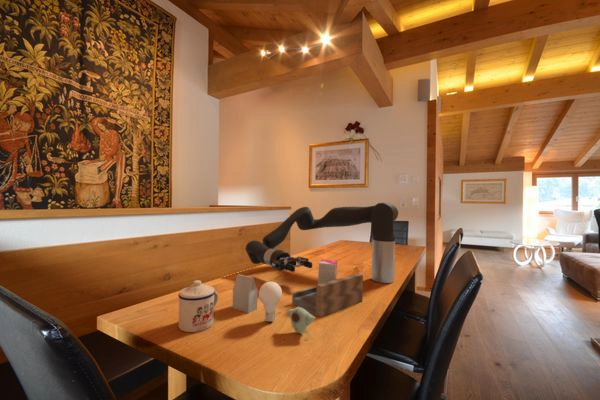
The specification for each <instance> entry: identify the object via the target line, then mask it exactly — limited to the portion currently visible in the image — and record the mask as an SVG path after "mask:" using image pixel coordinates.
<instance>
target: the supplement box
mask: <svg viewBox="0 0 600 400" xmlns="http://www.w3.org/2000/svg"><path fill="white" fill-rule="evenodd" d="M337 275H338V260H333V259H332V260H331V259H330V260H329V259H320V261H319V263H318V275H317V277H318V278H317V285H318V284H321V283H325V282H329V281H332V280H336V279H337V277H338V276H337Z"/></svg>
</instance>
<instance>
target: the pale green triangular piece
mask: <svg viewBox="0 0 600 400" xmlns="http://www.w3.org/2000/svg"><path fill="white" fill-rule="evenodd" d="M287 316H288V317H289V318H290V321H291V326H292V328H293V330H294V331H295V332H296V333H298V334H303V333H304V332H305V331H306V330H307V328H308V326H310V325H311V324H312V323H313V322H314V320H315V319H316V317H317V316H316V317H315V316H314V314H312V313H310V312H308V311H306V310H305V309H303V308H302V307H298V306H297V307H295V308H292V309H291V308H290V309H288V310H287Z"/></svg>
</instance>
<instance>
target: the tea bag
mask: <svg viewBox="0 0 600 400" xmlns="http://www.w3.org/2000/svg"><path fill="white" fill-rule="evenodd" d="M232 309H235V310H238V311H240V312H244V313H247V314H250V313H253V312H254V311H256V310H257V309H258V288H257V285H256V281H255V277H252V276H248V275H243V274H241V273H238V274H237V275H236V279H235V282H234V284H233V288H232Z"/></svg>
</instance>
